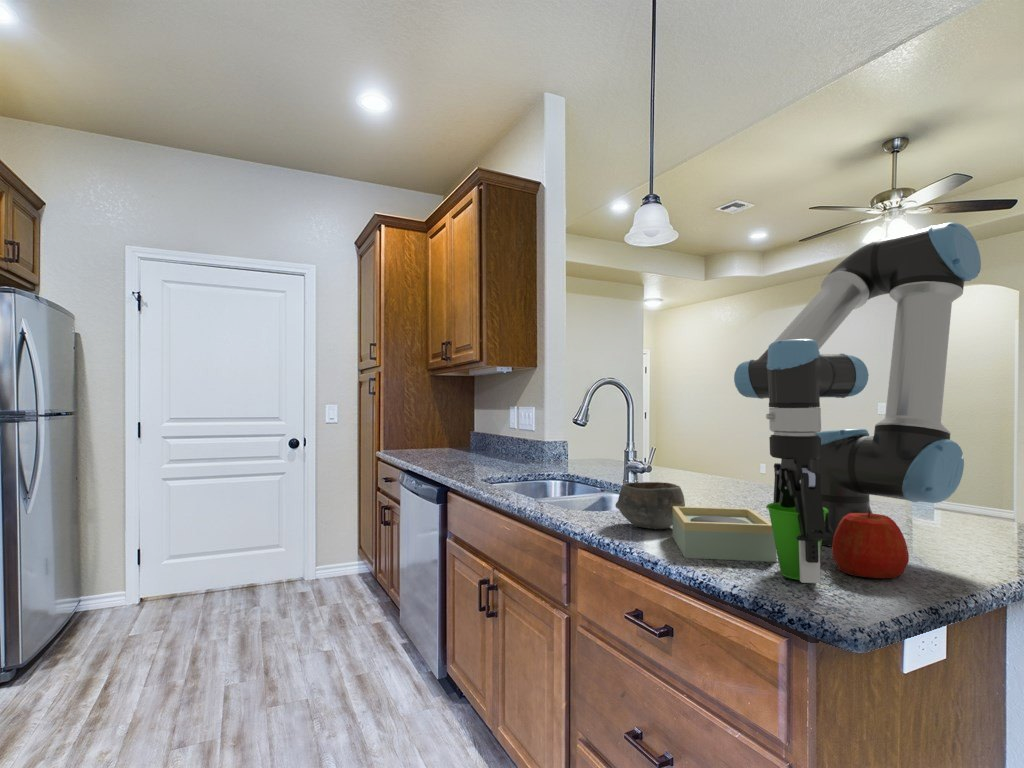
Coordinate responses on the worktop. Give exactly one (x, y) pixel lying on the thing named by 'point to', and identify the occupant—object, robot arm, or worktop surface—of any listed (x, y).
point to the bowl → (650, 503)
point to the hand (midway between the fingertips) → (798, 572)
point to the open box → (723, 534)
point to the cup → (787, 538)
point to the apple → (869, 546)
